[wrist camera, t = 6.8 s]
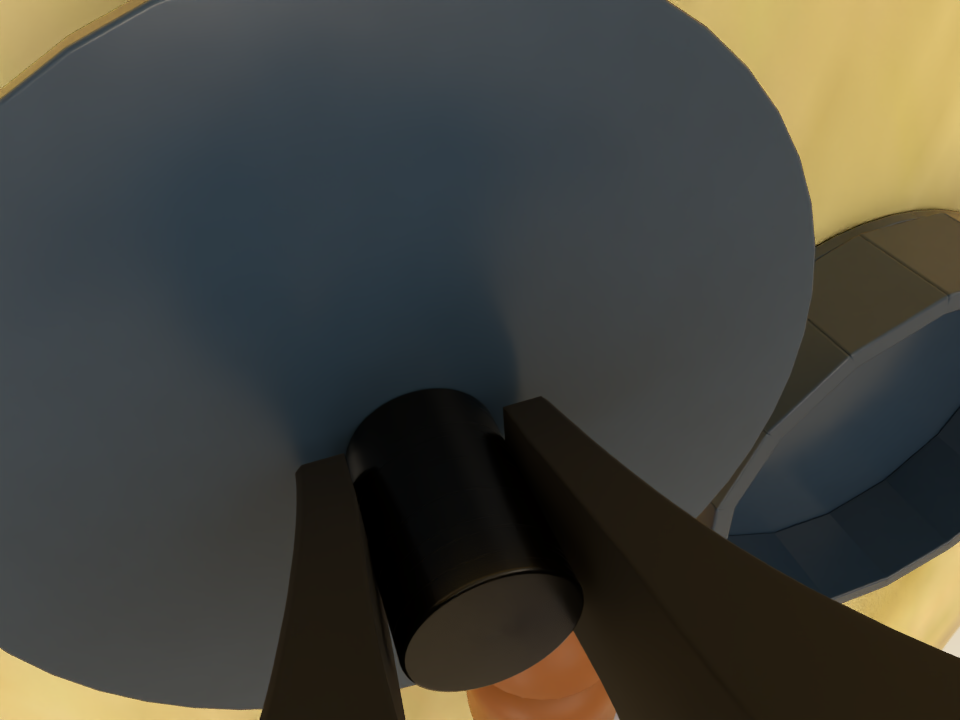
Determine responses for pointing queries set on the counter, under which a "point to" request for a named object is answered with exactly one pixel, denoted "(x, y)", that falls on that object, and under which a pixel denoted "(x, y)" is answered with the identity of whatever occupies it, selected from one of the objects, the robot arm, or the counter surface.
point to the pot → (862, 418)
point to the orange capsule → (547, 690)
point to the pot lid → (367, 314)
